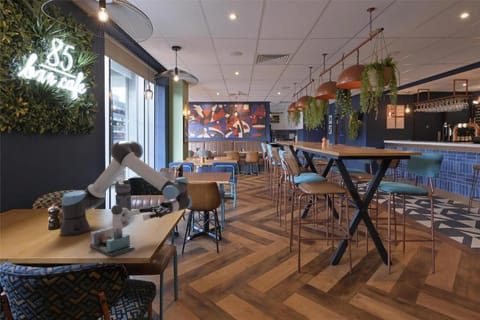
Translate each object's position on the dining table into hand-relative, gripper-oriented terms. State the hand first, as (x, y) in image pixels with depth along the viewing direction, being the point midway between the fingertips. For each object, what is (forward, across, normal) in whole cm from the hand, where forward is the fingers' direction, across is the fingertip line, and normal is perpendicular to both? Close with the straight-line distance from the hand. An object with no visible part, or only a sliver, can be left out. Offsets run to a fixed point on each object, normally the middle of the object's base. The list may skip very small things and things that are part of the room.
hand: (135, 215), depth 137 cm
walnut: (+10, +11, -13) cm, 20 cm away
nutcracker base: (+10, +6, -15) cm, 19 cm away
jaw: (+10, 0, -13) cm, 16 cm away
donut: (-16, +41, -15) cm, 46 cm away
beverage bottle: (-28, +60, -15) cm, 68 cm away
